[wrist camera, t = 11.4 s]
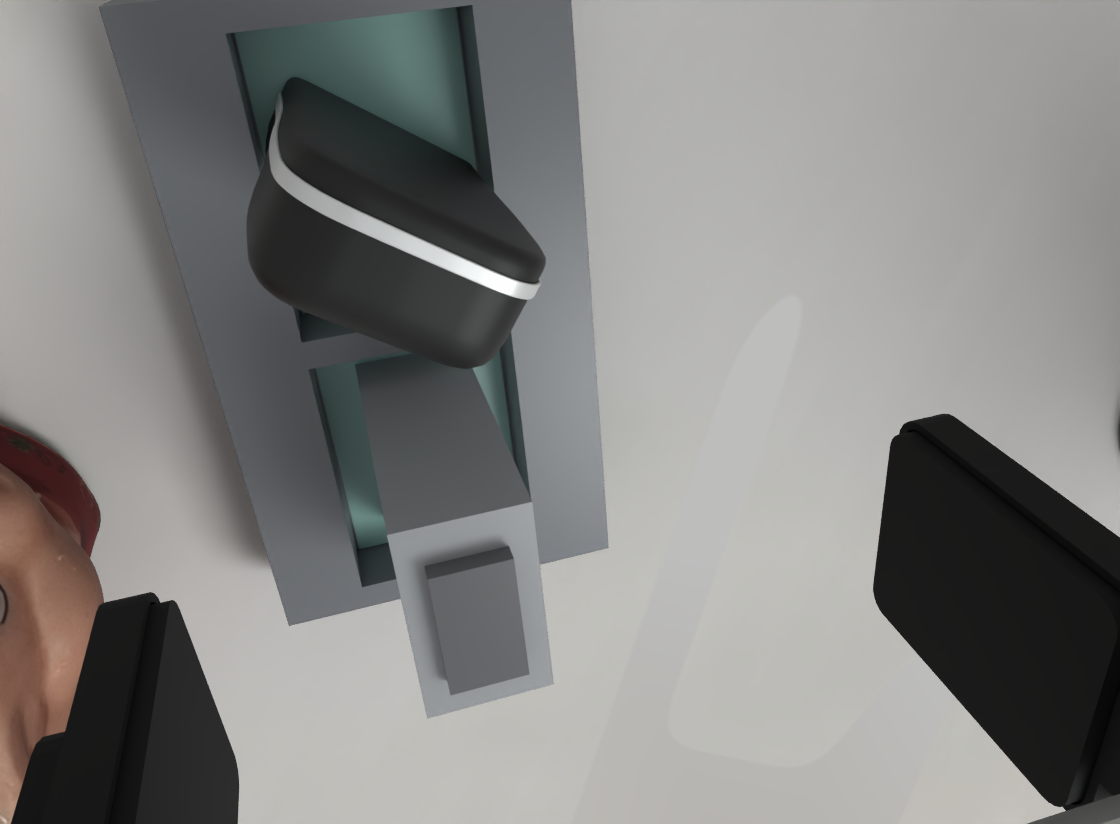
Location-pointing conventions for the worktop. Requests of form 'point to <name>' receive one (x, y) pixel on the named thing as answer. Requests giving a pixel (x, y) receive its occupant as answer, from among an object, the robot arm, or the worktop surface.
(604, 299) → the worktop surface
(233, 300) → the dock
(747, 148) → the worktop surface
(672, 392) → the worktop surface
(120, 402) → the worktop surface
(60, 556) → the decorative planter
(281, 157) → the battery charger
